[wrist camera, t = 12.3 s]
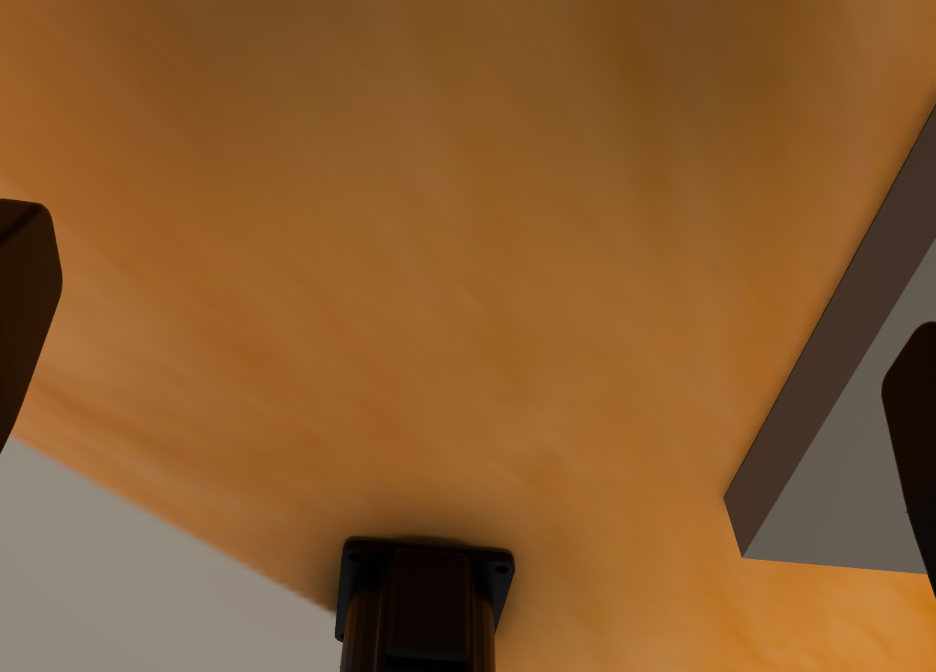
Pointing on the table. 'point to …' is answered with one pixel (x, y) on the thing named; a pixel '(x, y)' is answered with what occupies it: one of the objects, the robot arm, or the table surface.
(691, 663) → the table surface
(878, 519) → the socket board
